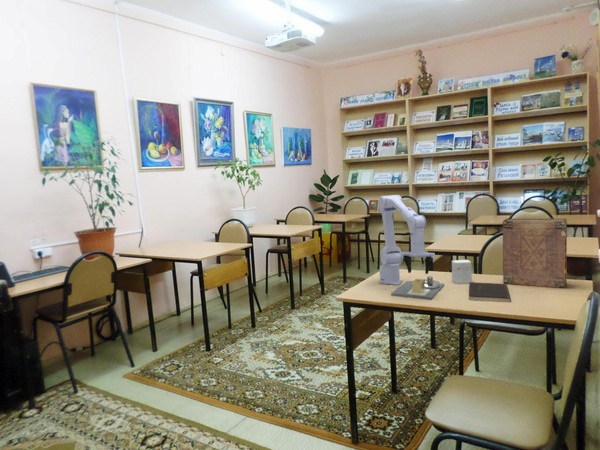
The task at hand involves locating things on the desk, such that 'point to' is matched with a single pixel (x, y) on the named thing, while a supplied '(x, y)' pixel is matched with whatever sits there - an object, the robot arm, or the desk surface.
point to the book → (535, 252)
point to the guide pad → (419, 293)
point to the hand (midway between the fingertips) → (418, 273)
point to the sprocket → (431, 283)
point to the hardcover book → (489, 292)
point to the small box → (461, 271)
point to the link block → (418, 286)
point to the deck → (407, 287)
